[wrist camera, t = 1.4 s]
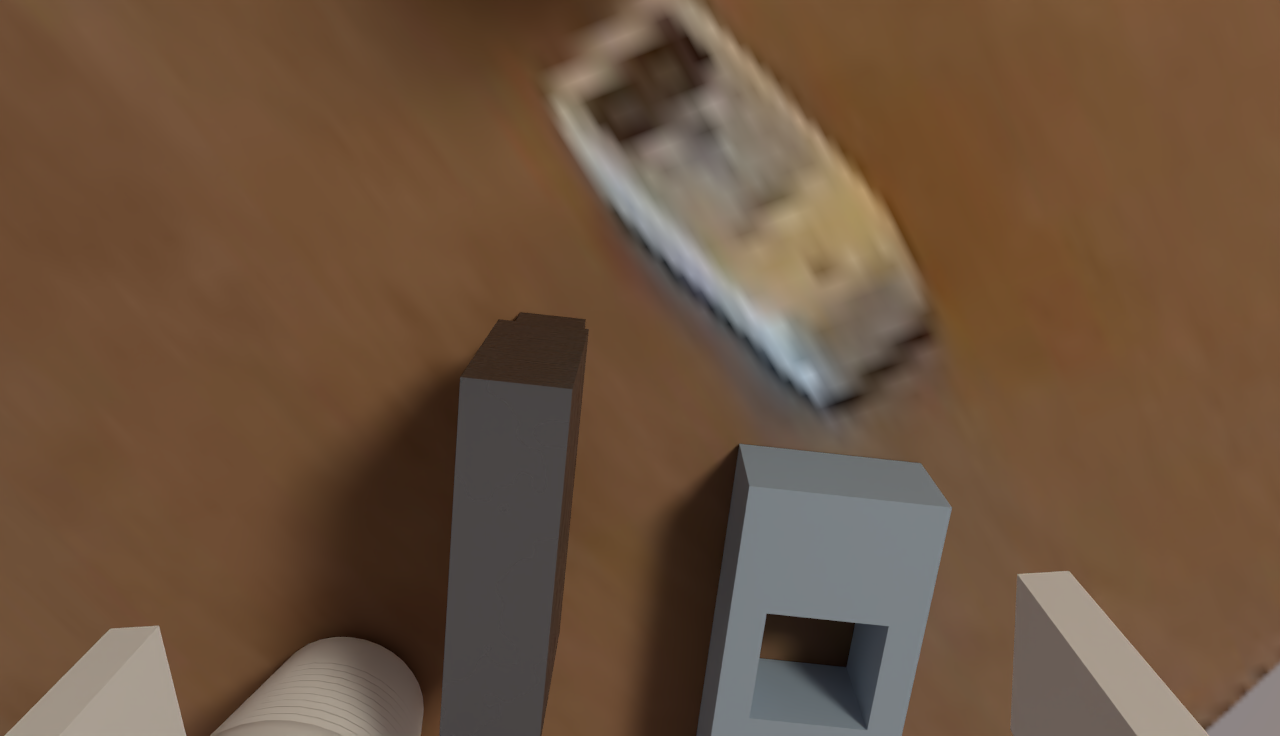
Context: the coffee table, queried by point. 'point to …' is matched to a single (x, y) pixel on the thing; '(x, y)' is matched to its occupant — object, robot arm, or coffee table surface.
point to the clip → (511, 524)
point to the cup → (333, 695)
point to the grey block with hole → (822, 591)
